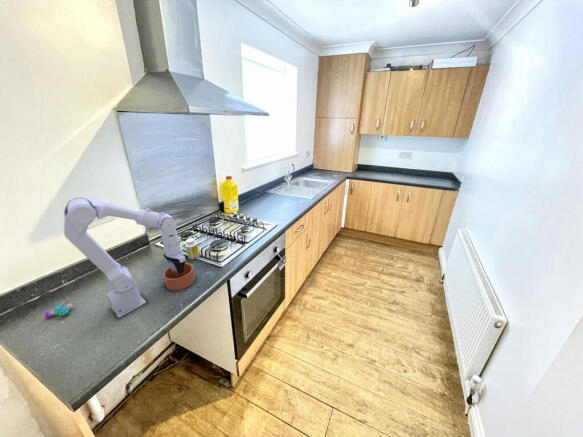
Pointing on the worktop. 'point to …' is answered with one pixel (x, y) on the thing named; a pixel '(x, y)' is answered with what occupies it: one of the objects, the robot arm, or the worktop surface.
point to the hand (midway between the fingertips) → (178, 269)
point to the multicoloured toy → (63, 310)
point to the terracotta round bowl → (179, 282)
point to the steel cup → (175, 270)
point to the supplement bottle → (192, 248)
